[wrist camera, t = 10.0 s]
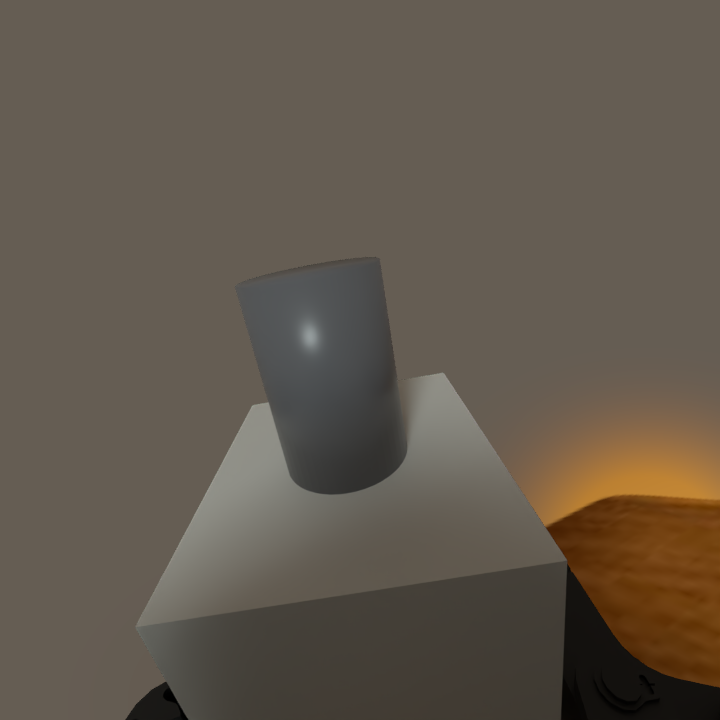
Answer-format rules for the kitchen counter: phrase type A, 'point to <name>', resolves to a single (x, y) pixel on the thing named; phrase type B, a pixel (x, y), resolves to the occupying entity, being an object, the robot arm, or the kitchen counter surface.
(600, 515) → the kitchen counter surface
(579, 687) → the robot arm
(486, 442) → the plug
